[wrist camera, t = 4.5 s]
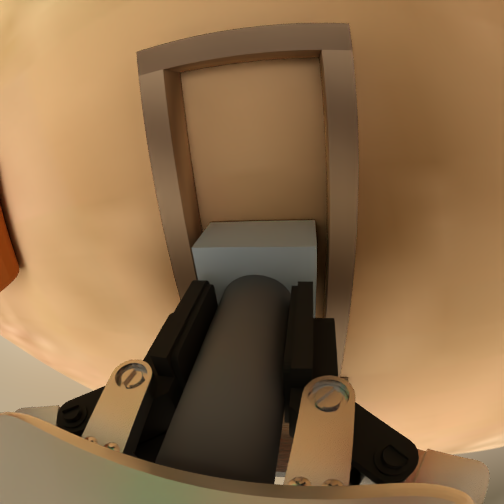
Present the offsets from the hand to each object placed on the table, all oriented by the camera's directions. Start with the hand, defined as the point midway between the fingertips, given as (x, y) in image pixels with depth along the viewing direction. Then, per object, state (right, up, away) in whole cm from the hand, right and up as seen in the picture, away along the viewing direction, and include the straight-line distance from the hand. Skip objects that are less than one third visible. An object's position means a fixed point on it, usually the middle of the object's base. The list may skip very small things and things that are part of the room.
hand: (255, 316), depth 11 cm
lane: (0, +2, +2) cm, 3 cm away
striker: (+1, +2, +3) cm, 3 cm away
